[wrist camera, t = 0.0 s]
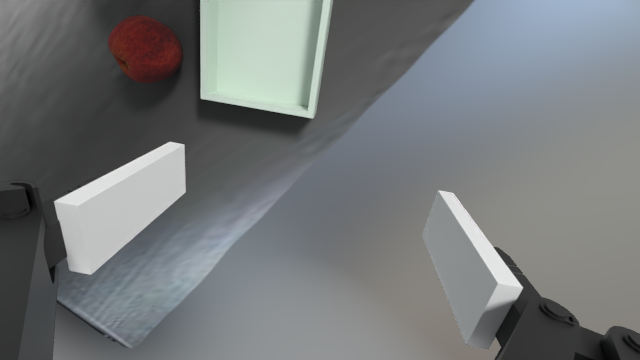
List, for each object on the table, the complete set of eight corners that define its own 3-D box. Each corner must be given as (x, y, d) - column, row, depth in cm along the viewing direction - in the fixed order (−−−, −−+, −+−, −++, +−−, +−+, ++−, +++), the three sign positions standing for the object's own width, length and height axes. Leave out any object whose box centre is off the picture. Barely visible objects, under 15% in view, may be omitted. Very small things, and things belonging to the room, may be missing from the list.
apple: (126, 32, 40) (76, 28, 33) (174, 7, 38) (133, -3, 31) (156, 86, 42) (116, 94, 35) (203, 65, 41) (171, 69, 33)
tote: (216, -127, 33) (199, -150, 29) (349, -105, 32) (349, -125, 29) (213, 94, 42) (200, 98, 38) (316, 112, 42) (312, 118, 38)
